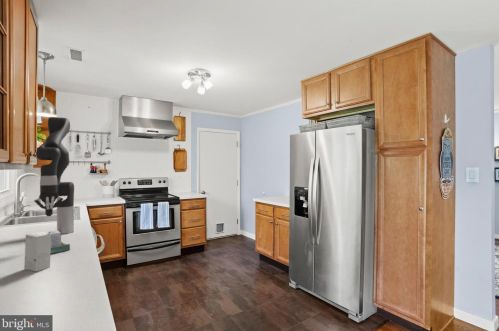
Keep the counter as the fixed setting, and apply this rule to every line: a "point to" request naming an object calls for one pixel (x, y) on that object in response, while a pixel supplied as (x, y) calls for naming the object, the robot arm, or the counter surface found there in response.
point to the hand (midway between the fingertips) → (49, 216)
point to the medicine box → (55, 238)
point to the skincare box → (37, 251)
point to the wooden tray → (60, 248)
